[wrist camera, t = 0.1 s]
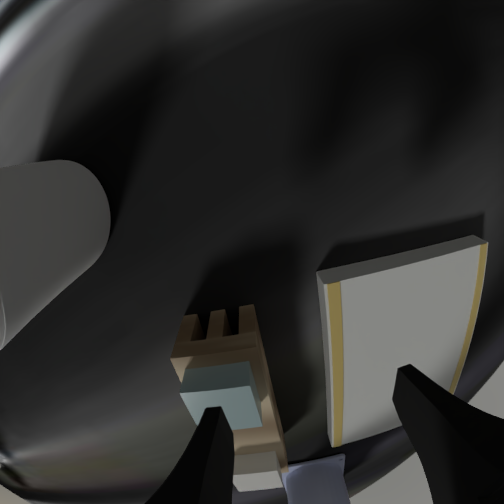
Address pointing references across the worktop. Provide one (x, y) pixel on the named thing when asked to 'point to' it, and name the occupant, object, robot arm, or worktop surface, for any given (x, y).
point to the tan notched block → (227, 352)
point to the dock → (395, 329)
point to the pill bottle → (46, 235)
